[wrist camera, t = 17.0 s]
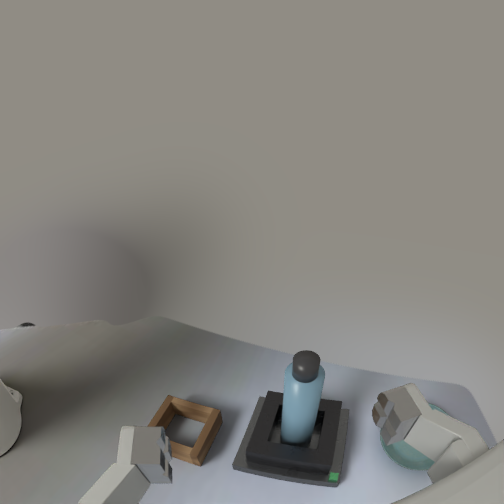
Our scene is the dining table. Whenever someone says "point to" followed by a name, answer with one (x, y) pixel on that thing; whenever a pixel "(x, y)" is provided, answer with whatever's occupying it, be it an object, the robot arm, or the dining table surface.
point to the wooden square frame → (196, 413)
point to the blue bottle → (301, 398)
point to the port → (292, 457)
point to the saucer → (409, 452)
